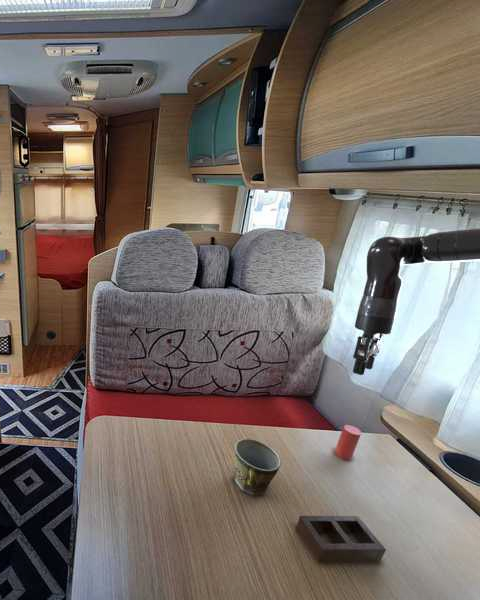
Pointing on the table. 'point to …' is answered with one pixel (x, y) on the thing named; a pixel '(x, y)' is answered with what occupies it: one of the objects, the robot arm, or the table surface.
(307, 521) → the two-compartment tray
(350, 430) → the red cylinder
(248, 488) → the ceramic cup
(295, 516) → the table surface
